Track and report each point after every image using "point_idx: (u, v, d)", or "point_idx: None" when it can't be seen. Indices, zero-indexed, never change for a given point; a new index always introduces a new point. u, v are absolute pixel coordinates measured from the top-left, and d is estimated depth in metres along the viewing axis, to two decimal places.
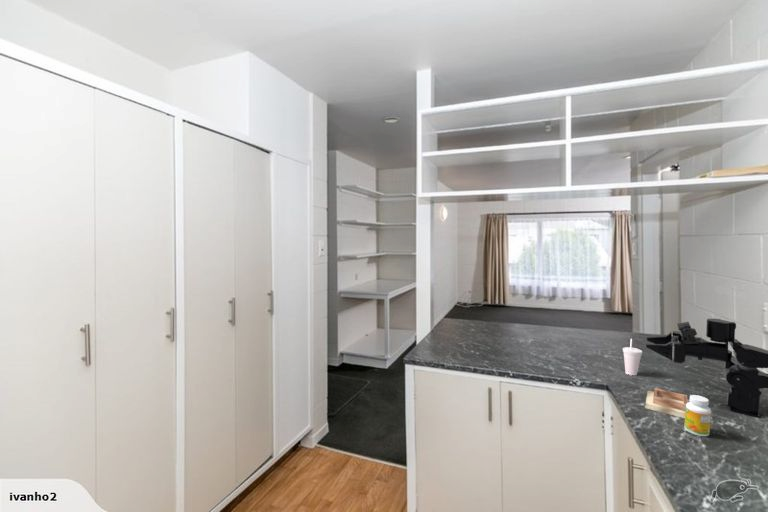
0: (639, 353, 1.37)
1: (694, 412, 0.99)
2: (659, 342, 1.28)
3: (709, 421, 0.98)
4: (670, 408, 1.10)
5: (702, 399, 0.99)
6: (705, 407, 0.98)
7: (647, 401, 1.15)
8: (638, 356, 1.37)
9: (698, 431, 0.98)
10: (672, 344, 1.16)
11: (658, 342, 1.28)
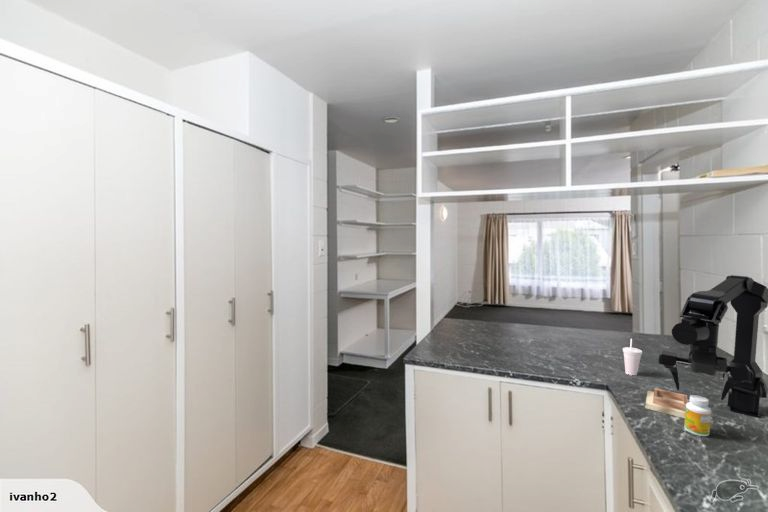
0: (639, 353, 1.37)
1: (694, 412, 0.99)
2: (678, 376, 1.03)
3: (709, 421, 0.98)
4: (670, 408, 1.10)
5: (702, 399, 0.99)
6: (705, 407, 0.98)
7: (647, 401, 1.15)
8: (638, 356, 1.37)
9: (698, 431, 0.98)
10: (743, 381, 0.92)
11: (677, 376, 1.03)
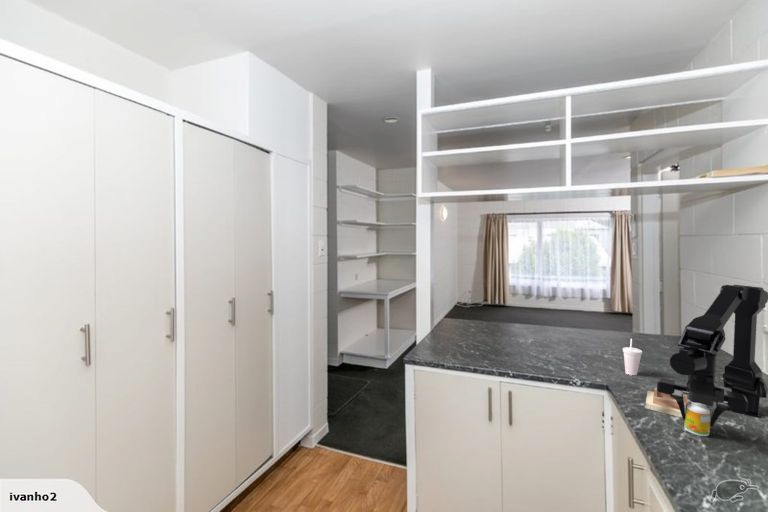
0: (639, 353, 1.37)
1: (694, 412, 0.99)
2: None
3: (709, 421, 0.98)
4: (670, 408, 1.10)
5: None
6: (705, 407, 0.98)
7: (647, 401, 1.15)
8: (638, 356, 1.37)
9: (698, 431, 0.98)
10: (731, 409, 0.94)
11: (683, 406, 1.03)
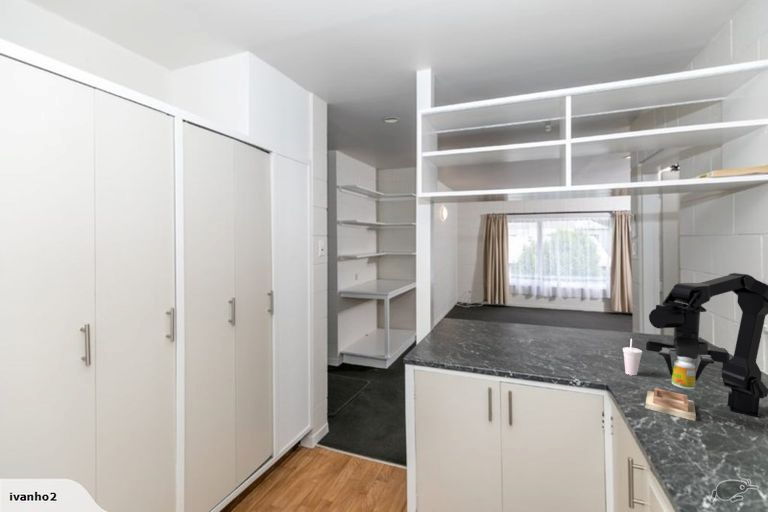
0: (639, 353, 1.37)
1: (680, 367, 1.06)
2: None
3: (694, 375, 1.05)
4: (670, 408, 1.10)
5: None
6: (690, 362, 1.06)
7: (647, 401, 1.15)
8: (638, 356, 1.37)
9: (684, 384, 1.06)
10: None
11: None
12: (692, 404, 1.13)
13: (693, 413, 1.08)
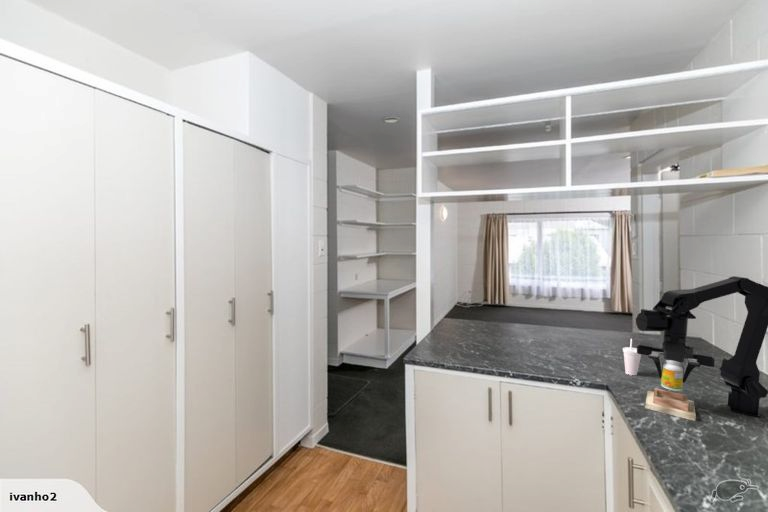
0: None
1: (669, 370, 1.12)
2: None
3: (682, 377, 1.11)
4: (670, 408, 1.10)
5: None
6: (678, 365, 1.12)
7: (647, 401, 1.15)
8: (638, 356, 1.37)
9: (672, 386, 1.12)
10: None
11: None
12: (692, 404, 1.13)
13: (693, 413, 1.08)
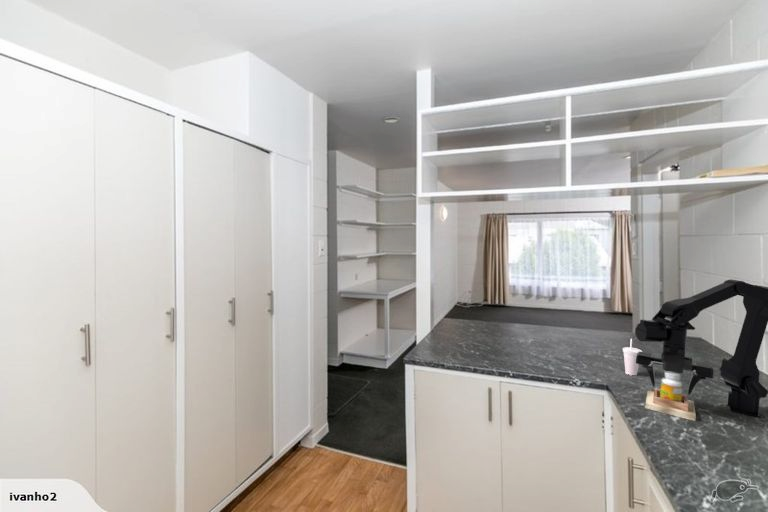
0: None
1: (668, 385, 1.12)
2: None
3: (681, 392, 1.12)
4: (670, 408, 1.10)
5: (675, 373, 1.13)
6: (677, 380, 1.12)
7: (647, 401, 1.15)
8: None
9: None
10: (705, 378, 1.07)
11: (653, 375, 1.17)
12: (692, 404, 1.13)
13: (693, 413, 1.08)
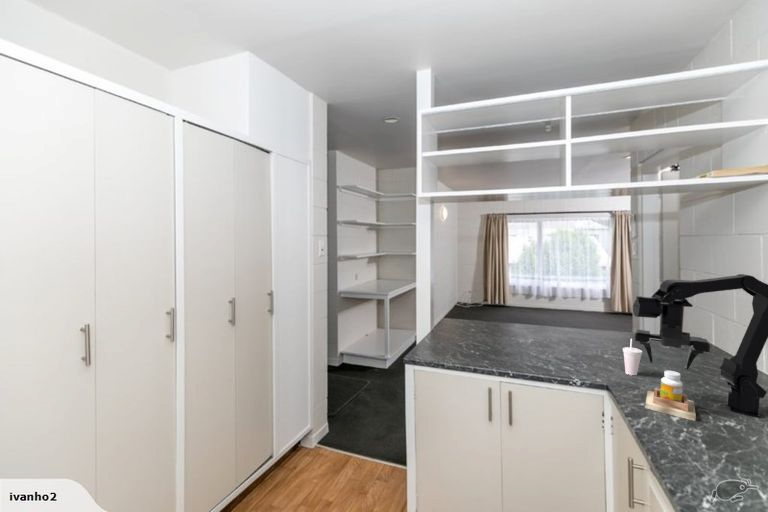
0: (639, 353, 1.37)
1: (668, 385, 1.12)
2: (651, 351, 1.21)
3: (681, 392, 1.12)
4: (670, 408, 1.10)
5: (675, 373, 1.13)
6: (677, 380, 1.12)
7: (647, 401, 1.15)
8: (638, 356, 1.37)
9: None
10: (703, 352, 1.10)
11: None
12: (692, 404, 1.13)
13: (693, 413, 1.08)
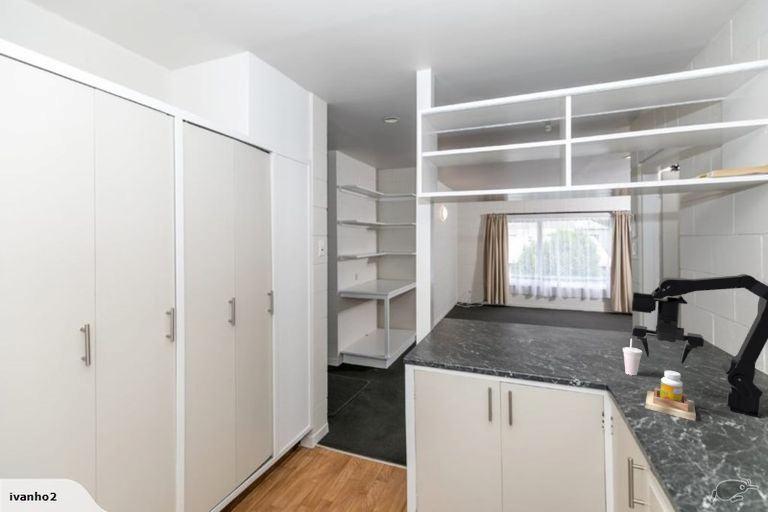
0: (639, 353, 1.37)
1: (668, 385, 1.12)
2: (648, 346, 1.26)
3: (681, 392, 1.12)
4: (670, 408, 1.10)
5: (675, 373, 1.13)
6: (677, 380, 1.12)
7: (647, 401, 1.15)
8: (638, 356, 1.37)
9: None
10: (697, 347, 1.15)
11: (648, 346, 1.26)
12: (692, 404, 1.13)
13: (693, 413, 1.08)
